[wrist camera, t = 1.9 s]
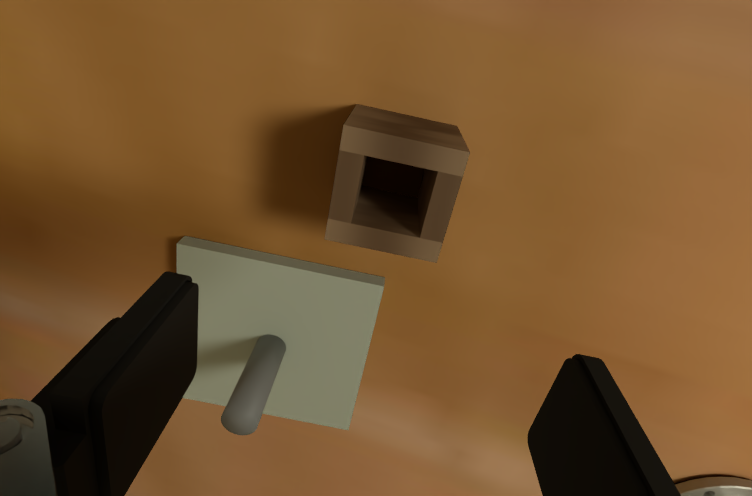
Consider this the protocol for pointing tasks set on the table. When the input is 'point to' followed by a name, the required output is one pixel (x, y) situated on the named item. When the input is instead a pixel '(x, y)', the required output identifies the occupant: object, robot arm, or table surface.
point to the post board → (278, 334)
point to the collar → (388, 209)
